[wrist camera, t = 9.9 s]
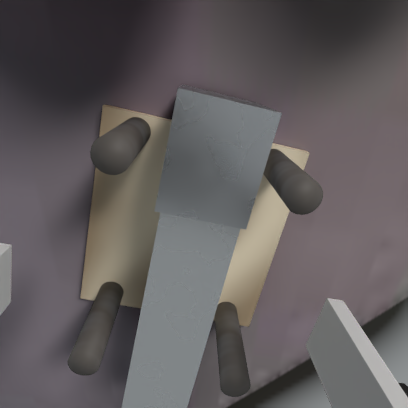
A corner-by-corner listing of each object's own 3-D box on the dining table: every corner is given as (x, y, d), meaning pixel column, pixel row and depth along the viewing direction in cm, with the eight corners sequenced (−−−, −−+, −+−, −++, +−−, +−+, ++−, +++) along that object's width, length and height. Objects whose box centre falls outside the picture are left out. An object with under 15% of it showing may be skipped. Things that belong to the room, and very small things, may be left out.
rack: (83, 293, 23) (42, 372, 17) (105, 104, 18) (60, 118, 12) (247, 320, 24) (265, 404, 18) (306, 150, 20) (357, 184, 13)
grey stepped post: (189, 339, 24) (188, 419, 18) (135, 330, 23) (116, 409, 18) (254, 101, 18) (281, 113, 12) (183, 84, 18) (178, 88, 12)
